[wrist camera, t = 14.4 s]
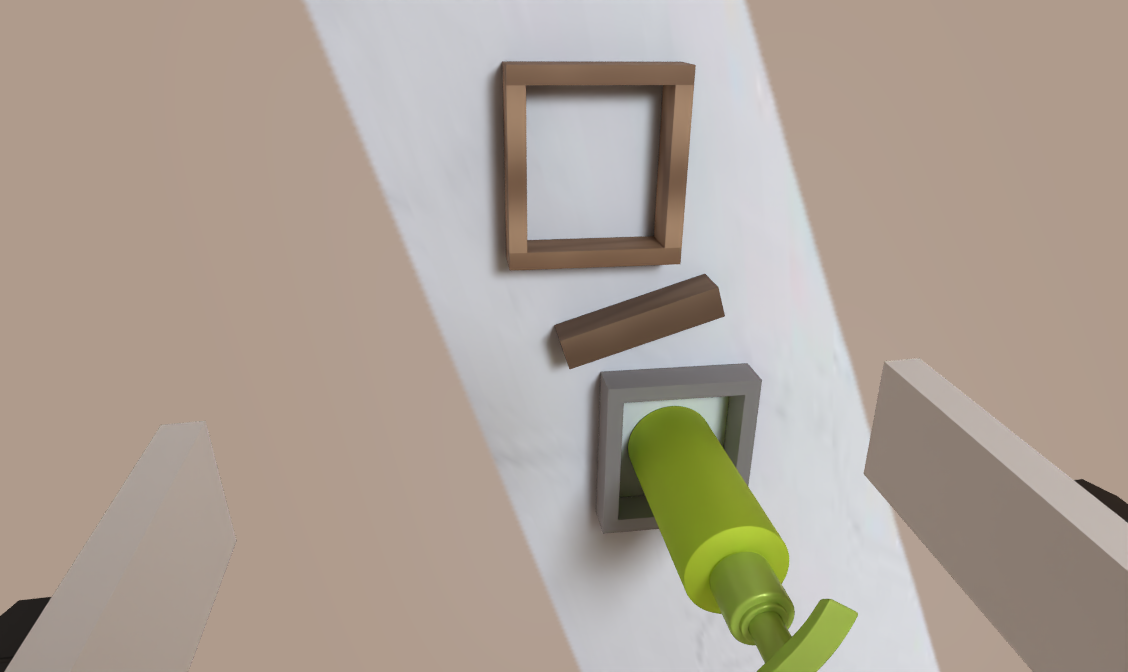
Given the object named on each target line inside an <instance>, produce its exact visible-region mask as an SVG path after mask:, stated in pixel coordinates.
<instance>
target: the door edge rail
mask: <svg viewBox="0 0 1128 672" xmlns="http://www.w3.org/2000/svg"><path fill="white" fill-rule="evenodd" d="M724 316H725V315H724V310H723V306H722V301H721V297H720V293H719V288H718V286H717V285H716V284H715V283H714V282H713V281H712V280H711V279H710V278H709V277H708V276H707V275H706V274H703V275H700V276H697V277H694V278H691V279H688V280H685V281H682V282H679V283H676V284H674V285H671V286H668V287H665V288H662V289H659V290H656V291H653V292H650V293H647V294H644V295H641V296H638V297H635V298H633V299H630V300H627V301H624V302H621V303H618V304H615V305H612V306H609V307H606V308H603V309H600V310H597V311H594V312H591V313H589V314H586V315H583V316H580V317H577V318H574V319H571V320H568V321H565V322H562V323H559V324H556V325H555V328H556V331H557V334H558V337H559V340H560V343H561V346H562V349H563V352H564V355H565V358H566V360H567V363H568V366H569V369H572V368H575V367H578V366H581V365H584V364H587V363H590V362H593V361H596V360H599V359H601V358H604V357H607V356H610V355H613V354H616V353H619V352H622V351H625V350H628V349H631V348H634V347H637V346H639V345H642V344H645V343H648V342H651V341H654V340H657V339H660V338H663V337H666V336H669V335H672V334H675V333H677V332H680V331H683V330H686V329H689V328H692V327H695V326H698V325H701V324H704V323H707V322H710V321H713V320H715V319H718V318H721V317H724Z"/></svg>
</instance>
